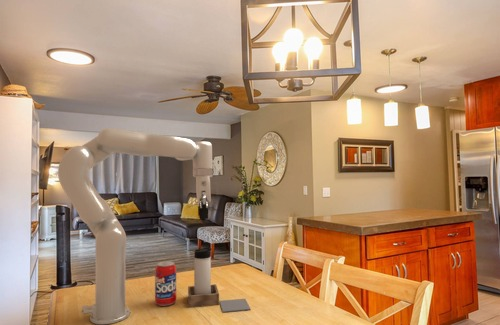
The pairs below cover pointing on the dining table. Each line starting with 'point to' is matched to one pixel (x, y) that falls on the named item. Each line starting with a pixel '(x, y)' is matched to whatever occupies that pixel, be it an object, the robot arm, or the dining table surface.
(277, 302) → the dining table surface
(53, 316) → the dining table surface
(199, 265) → the travel mug
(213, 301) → the brown wooden tray
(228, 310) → the rubber mat
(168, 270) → the soda can
